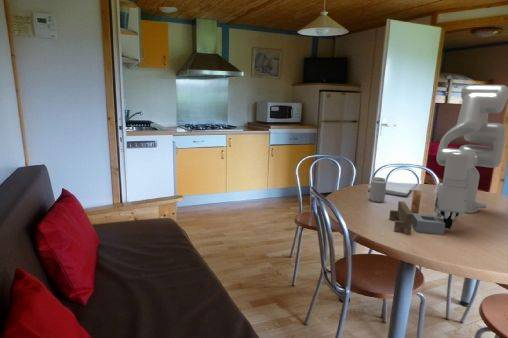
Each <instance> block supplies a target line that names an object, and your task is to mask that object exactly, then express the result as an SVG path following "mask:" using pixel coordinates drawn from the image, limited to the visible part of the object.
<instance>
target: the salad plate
mask: <svg viewBox="0 0 508 338" xmlns="http://www.w3.org/2000/svg"><path fill="white" fill-rule="evenodd" d="M385 181H386V191H385V195H386V194H387V195H392V196H401V197H405V196H407V195H408V194H409V192H410V191H411V189H412V188H414V186H413V185H412V184H411V185H409V184H406V183H405V184H404V183H398V182H392V181H387V180H385ZM367 188H368V189H369V190H370V185H369V186H367Z"/></svg>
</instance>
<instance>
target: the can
mask: <svg viewBox="0 0 508 338" xmlns="http://www.w3.org/2000/svg"><path fill="white" fill-rule="evenodd" d="M386 181H387V180H386V178H384V177H379V176H377V177H376V176H374V177H372V179H371V180H370V185H369V186H370V189H369V196H368V199H369V200H370V202H372V203H383V202H384V201H385V199H386V193H385V191H386Z"/></svg>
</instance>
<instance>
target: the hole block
mask: <svg viewBox="0 0 508 338" xmlns="http://www.w3.org/2000/svg"><path fill="white" fill-rule="evenodd" d="M412 214H413V219H412V226H411V227H413V229H414V231H415V232H416V233H425V234H434V235H442V236H443V235H445V229H446V228H445V223H444V222H443V219H441V218H440V217H439V216H436V215H433V214H425V213H418V214H416V213H412Z"/></svg>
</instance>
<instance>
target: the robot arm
mask: <svg viewBox="0 0 508 338" xmlns="http://www.w3.org/2000/svg"><path fill="white" fill-rule="evenodd" d="M460 96H461V99H462V100H461V105H460V106H461V107H460V110H459V114H458V118H457V121H456V122H457V123H456V124H455V125H454V126H453V127H452V128H450V129H449V130H448V131H447V132H446V133H444V135H443V136H442V137H441V139H440V142H439V145H438V148H437V152H436V162H437V164H438V165H439V166H441V167H442V166H443V167H444V172H443V178H442V183H443V184H441V185H440V186H439V189H438V192H437V196H436V200H435V199H434V210H433V212H436V213H439V214H441V215H442V216H443V217H444V218H443V219H442V221H443V222H444V223H445V229H446V230H447V229H448V230H451V228H452V227H453V222H454V220H455V219H456V218H457V217H458V216H459V217H460V216H465V214H466V213H467V214H475V212H476V213H478V212H479V208H480V209H487V203H481V202H477V201H476V200H477V195H478V187H479V182H480V172H479V171H478V169H477V168H476V167H484V168H492V169H493V168H497V167H499V166H500V165H501V163H502V159H503V153H504V147H505V140H506V134H507V133H506V132H507V131H506V126H505V125H504V124H503V123H498V122H489V121H488V120H489V119H488V118H489V114H500V113H501V112H502V111H503V110H504V108H505V105H506V103H507V101H508V86H507V85H504V84H470V85H469V84H468V85H465V86H463V87H462V88H461V91H460ZM460 137H463V138H464V140H465V141H466V142H470V143H473V144H464V145H461V146H460V147H459V148H452V147H448V145H449V144H450V143H451V142H452V141H453V140H456V139H457V138H460ZM474 143H475V144H474ZM476 143H477V145H476ZM479 144H488V145H490V146H487V145H479ZM477 211H478V212H477Z"/></svg>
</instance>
